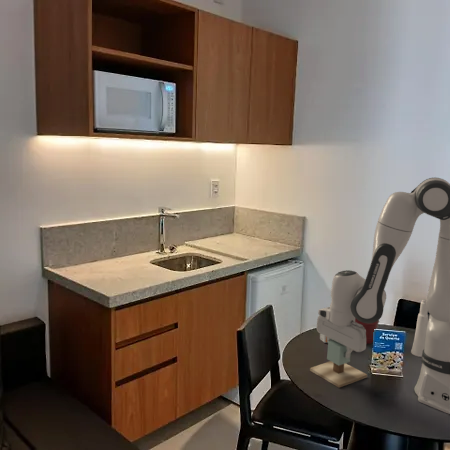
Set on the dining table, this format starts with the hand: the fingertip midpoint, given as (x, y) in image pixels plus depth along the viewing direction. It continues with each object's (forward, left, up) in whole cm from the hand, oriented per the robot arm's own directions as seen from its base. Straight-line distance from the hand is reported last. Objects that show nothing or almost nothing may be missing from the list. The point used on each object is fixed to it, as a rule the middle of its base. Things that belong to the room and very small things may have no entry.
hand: (338, 353), depth 170 cm
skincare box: (+22, -18, -8) cm, 29 cm away
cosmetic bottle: (-5, -40, -8) cm, 41 cm away
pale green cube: (0, 0, -3) cm, 3 cm away
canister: (+17, -32, -8) cm, 37 cm away
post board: (0, 0, -8) cm, 8 cm away
